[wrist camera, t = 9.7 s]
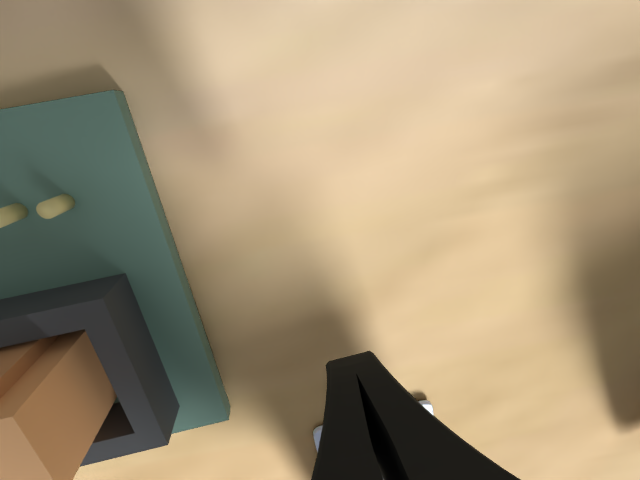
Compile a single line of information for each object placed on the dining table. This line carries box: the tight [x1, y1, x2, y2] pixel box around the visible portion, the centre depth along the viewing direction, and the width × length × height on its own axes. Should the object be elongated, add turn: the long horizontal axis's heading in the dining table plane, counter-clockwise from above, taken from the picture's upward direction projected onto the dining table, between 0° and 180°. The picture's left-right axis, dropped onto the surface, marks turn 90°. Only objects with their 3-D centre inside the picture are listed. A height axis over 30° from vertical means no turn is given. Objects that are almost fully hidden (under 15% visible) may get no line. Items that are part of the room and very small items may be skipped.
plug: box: [0, 329, 117, 480], centre depth 15 cm, size 5×4×6 cm
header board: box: [0, 90, 230, 466], centre depth 16 cm, size 18×13×4 cm
